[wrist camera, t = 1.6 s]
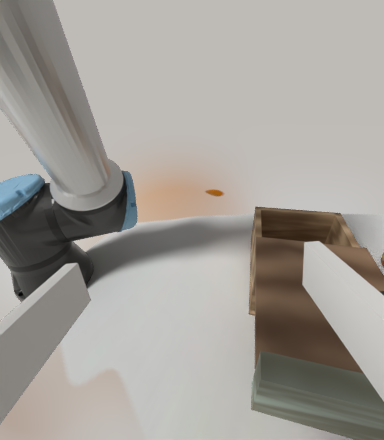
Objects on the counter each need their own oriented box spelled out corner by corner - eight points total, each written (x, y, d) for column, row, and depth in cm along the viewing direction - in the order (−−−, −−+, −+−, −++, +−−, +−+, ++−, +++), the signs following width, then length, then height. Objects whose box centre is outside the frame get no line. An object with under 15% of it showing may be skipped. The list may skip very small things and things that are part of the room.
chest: (361, 335, 35) (389, 297, 30) (248, 314, 39) (255, 277, 34) (326, 247, 53) (340, 213, 47) (251, 239, 57) (255, 206, 51)
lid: (462, 470, 19) (541, 450, 14) (251, 409, 23) (260, 379, 18) (357, 265, 38) (376, 230, 34) (253, 252, 42) (258, 219, 38)
